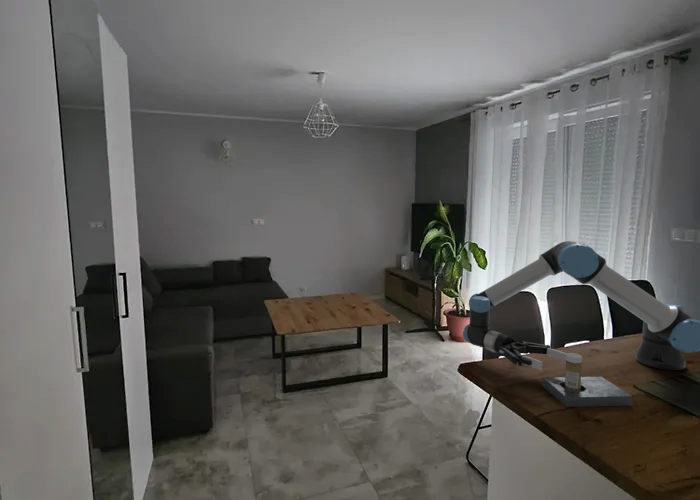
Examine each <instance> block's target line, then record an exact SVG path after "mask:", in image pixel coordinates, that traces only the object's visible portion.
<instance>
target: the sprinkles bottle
mask: <svg viewBox="0 0 700 500" xmlns="http://www.w3.org/2000/svg"><path fill="white" fill-rule="evenodd" d="M582 363H583V356H582V355H581V354H579V353H576V352H575V353H574V352H568V353H567V354H566V361H565V373H564V374H565V375H564V377H565V389H567V390H570V391H574V392H580V387H581V377H582Z"/></svg>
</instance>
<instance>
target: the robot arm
mask: <svg viewBox="0 0 700 500" xmlns="http://www.w3.org/2000/svg"><path fill="white" fill-rule="evenodd" d="M563 272H564V273H565V274H566V275H568V276H570V277H571V278H573V279H574V280H576V282H579V283H580V284H582V285H591V286H592V287H593V288H595V289H596V290H598V291H600V292H601V293H602V294H604V295H605V296H606V297H608V298H609V299H611V300H613V301H614V302H616V303H617V304H618V305H619V306H620V307H623V308H624V309H626V310H627V311H628V312H630V313H631V314H633V315H634V316H635V317H637V318H639V319H640V320H642V321H643V322H642V335H641V336H642V337H641V338H642V339H641V342H640V345H639V346H638V348H637V351H636V352H635V357H634V358H635V360H636V361H637V362H638V363H641V364H642V365H645V366H647V367H652V368H656V369H659V370H660V369H661V370H666V371H667V370H668V371H681V370H685V369H686V362H687V361H686V359H685V356H684V353H688V354H689V353H690V354H691V353H697V352H700V320H698V319H696V318H694V317H693V316H691V315H689V314H687V312H685V309H684V306H682V305H678V304H672V303H663V302H661V301H660V300H659V299H657V298H656V297H655V296H653V295H652V294H650V293H648V292H647V291H645V290H644V289H642V288H641V287H639V286H638V285H636V284H635V283H633V282H632V281H630V279H627V278H626V277H624V276H623V275H621V274H620V273H618V272H617V271H616V270H614V269H613V268H611V267H610V266H608V264H607V259H606V258H604V257H603V256H601V255H599V254H598V253H597V252H596V251H595V250H594V249H593V248H592V247H591V246H589V245H587V244H585V243H580V242H577V241H572V240H571V241H570V240H567V241H566V240H565V241H561V242H560V243H557V244H556V245H553V247H551V248H550V249H548V250H546V251H544V252H543V253H542V254H539V257H538V259H535V261H533V262H531V263H530V264H529V263H528V265H526V266H524V267H523V268H521V269H519V270H517V271H516V272H514V273H512V274H510V275H509V276H506V277H505V278H503V279H502V280H500V281H499V282H497V283H495V284H493V285H491V286H489V287H488V288H486V289H483V291H481V292H479V293H474V294H473V295H471V296H470V297H469V299H468V300H469V301H468V308H469V324H467V325H465V326H464V328H463V331H462V337H463V339H464V341H465V342H467V343H469V344H471V345H473V346H475V347H480V348H482V349H485V350H487V351H490V352H492V353H496V354H498V355H501V356H503V357H504V358H505V359H507V360H508V361H510V362H511V363H512V364H514V365H517V366H519V367H522V366H523V365H526V366H527V367H531V368H533V369H536V370H538V371H543V367H544V366H543V365H544V361H542V360H539V359H536V358H533V357H531V356H528V354H529V353H530V354H539V355H546V356H547V357H550V358H552V359H556V360H559V361H562V362H566V354H567V353H566V352H563V351H561V350H558V349H557V350H556V349H554V348H551V345H549V344H543V343H536V342H530V341H525V340H521V341H520V342H519V341H515V340H514V338H513V337H512V336H511V335H507V334H504V333H502V332H500V331H499V332H498V331H495V330H491V329H490V313H491V312H490V309H492V308H493V307H495V306H497V305H498V304H500V303H502V302H504V301H505V300H507V299H510V298H511V297H513V296H514V295H516V294H518V293H520V292H522V291H524V290H525V289H527V288H529V287H530V286H531V287H532V286H533V285H534V284H536V283H538V282H540V281H542V280H543V279H545V278H547V277H549V276H556V275H558V274H559V273H563ZM522 354H524V355H522Z"/></svg>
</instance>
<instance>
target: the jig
mask: <svg viewBox="0 0 700 500" xmlns="http://www.w3.org/2000/svg"><path fill="white" fill-rule="evenodd" d="M542 387H543V388H544V389H545V390H546V391H548V392H549V393H550V394H551V395H552V396H553V397H554V398H555V399H557V400H558V401H559V402H560V403H561V404H562V405H563V406H565V407H566V408H571V407H572V408H574V407H576V408H578V407H579V408H580V407H581V408H582V407H583V408H585V407H586V408H587V407H632V406H633V395H631V394H629V393H628V392H626V391H625V390H623V389H622V388H620V387H618V386H617V385H615V384H614V383H612V382H611V381H609V380H607V379H606V378H605V377H603V376H581V387H580V392H574V391H570V390H567V389H565V376H564V377H562V376H561V377H558V376H557V377H555V376H553V377H542Z"/></svg>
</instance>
